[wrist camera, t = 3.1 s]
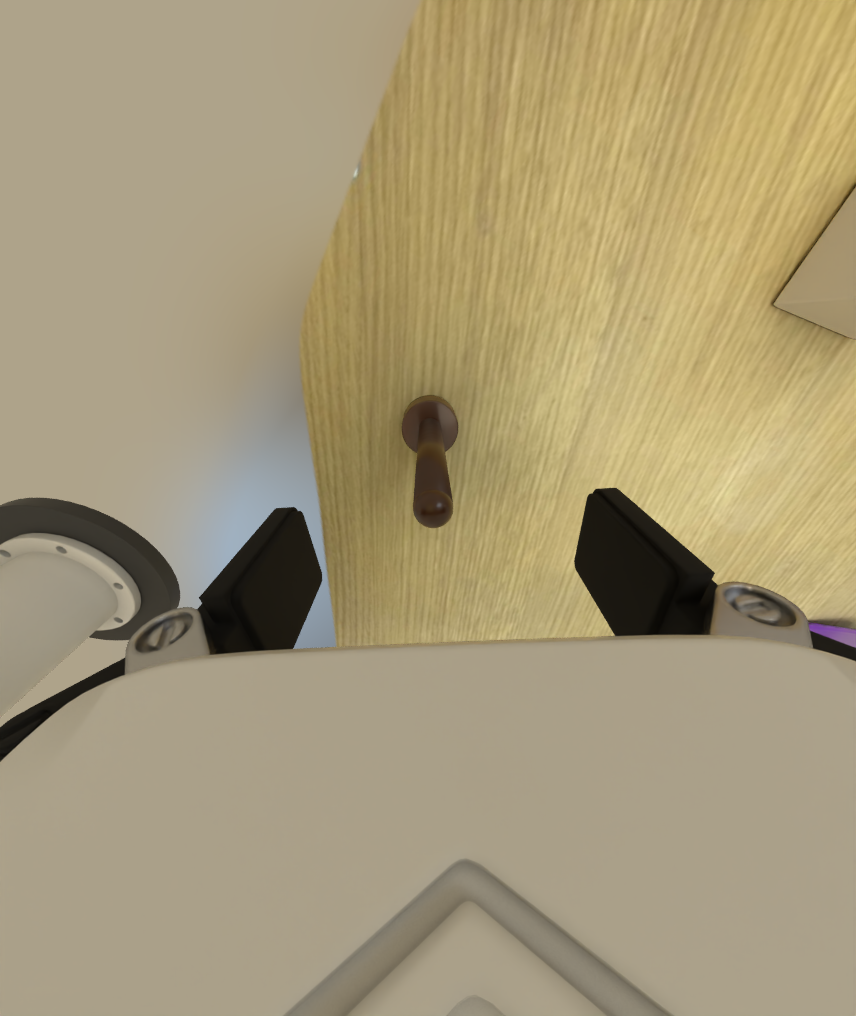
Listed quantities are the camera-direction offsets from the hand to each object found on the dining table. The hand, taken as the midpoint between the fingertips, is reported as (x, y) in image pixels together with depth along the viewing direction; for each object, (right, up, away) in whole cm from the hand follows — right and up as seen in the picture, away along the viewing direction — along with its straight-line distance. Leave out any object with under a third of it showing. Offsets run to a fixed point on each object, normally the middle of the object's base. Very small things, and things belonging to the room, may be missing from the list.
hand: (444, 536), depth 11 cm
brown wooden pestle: (0, +7, +13) cm, 15 cm away
